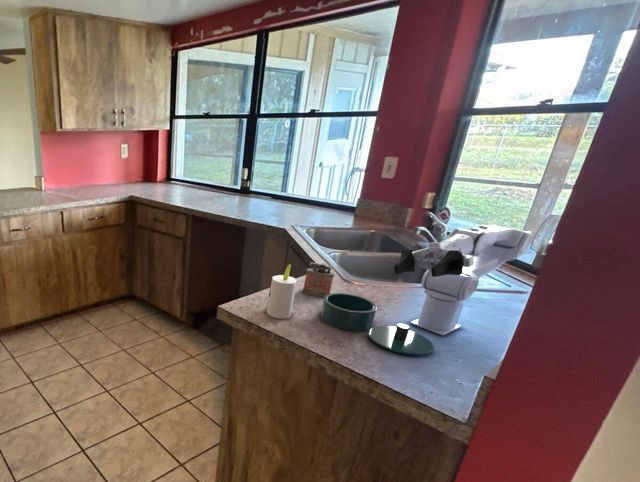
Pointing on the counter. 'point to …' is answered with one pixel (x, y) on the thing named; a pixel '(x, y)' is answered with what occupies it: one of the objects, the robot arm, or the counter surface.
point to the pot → (348, 311)
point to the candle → (281, 295)
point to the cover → (400, 339)
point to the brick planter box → (318, 280)
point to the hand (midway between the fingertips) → (414, 271)
